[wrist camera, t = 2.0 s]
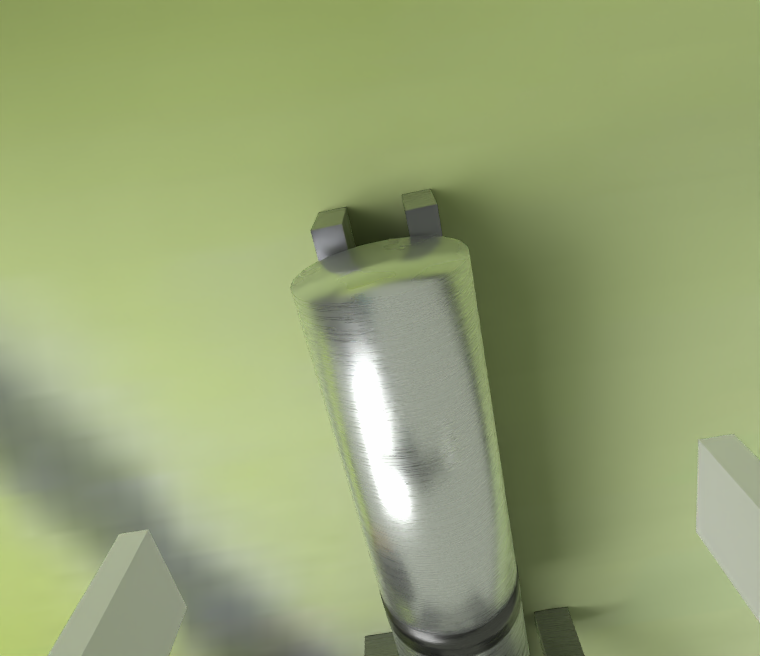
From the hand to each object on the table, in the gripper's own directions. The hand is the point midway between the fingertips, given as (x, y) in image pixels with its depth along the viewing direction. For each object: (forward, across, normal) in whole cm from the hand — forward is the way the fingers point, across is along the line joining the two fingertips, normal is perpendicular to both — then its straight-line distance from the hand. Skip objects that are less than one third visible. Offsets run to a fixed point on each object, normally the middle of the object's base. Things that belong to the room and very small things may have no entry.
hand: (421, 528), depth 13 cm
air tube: (+11, 0, -7) cm, 12 cm away
